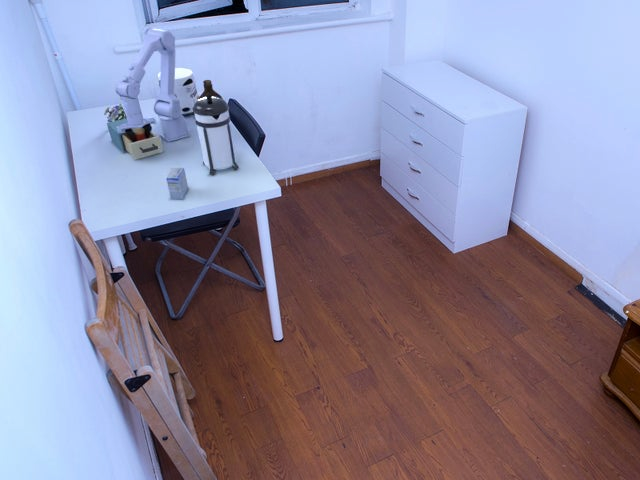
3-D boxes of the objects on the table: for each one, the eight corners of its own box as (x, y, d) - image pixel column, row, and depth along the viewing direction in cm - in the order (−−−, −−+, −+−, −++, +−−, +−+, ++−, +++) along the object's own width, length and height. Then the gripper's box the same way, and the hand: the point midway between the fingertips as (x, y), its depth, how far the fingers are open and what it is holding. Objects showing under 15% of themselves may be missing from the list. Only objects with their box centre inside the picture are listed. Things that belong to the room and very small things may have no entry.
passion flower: (115, 138, 246) (102, 113, 244) (139, 128, 250) (126, 104, 248) (114, 133, 236) (99, 107, 234) (139, 123, 240) (125, 97, 238)
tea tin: (146, 144, 226) (141, 126, 221) (151, 148, 223) (146, 130, 219) (134, 147, 223) (130, 129, 219) (139, 152, 221) (134, 133, 216)
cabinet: (155, 144, 231) (150, 125, 226) (123, 153, 224) (118, 134, 219) (142, 133, 239) (138, 115, 234) (112, 141, 231) (106, 123, 227)
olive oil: (204, 133, 241) (194, 77, 227) (229, 131, 243) (221, 76, 229) (203, 143, 233) (192, 86, 218) (229, 142, 235) (220, 85, 220)
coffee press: (249, 161, 222) (239, 88, 204) (226, 179, 209) (213, 103, 192) (212, 153, 226) (199, 82, 209) (188, 170, 214) (172, 96, 196)
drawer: (167, 155, 221) (164, 140, 218) (138, 163, 215) (134, 148, 211) (151, 141, 231) (147, 126, 227) (122, 148, 225) (118, 133, 221)
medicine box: (176, 188, 203) (171, 167, 197) (188, 188, 203) (184, 167, 198) (170, 199, 196) (165, 178, 191) (183, 199, 197) (178, 178, 191)
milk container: (209, 111, 260) (202, 74, 250) (175, 121, 250) (166, 82, 239) (190, 101, 270) (183, 64, 259) (156, 110, 259) (147, 72, 249)
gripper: (118, 119, 208) (127, 152, 216) (156, 110, 216) (163, 142, 224) (111, 114, 212) (120, 146, 220) (148, 105, 220) (156, 136, 228)
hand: (141, 143), depth 222 cm, fingers closed on tea tin, 4 cm apart
